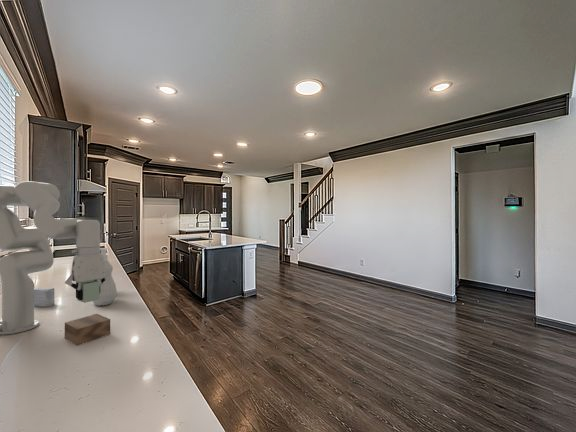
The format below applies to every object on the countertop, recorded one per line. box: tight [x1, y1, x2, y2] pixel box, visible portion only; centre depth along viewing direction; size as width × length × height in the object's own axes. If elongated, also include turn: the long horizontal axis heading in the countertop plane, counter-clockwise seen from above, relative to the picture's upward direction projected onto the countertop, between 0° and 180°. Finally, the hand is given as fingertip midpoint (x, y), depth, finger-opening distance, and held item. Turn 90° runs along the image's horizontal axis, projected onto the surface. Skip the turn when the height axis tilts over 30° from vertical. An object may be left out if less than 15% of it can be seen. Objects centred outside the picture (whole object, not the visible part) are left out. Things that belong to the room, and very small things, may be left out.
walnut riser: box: [64, 313, 111, 347], centre depth 105 cm, size 11×11×6 cm
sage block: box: [77, 280, 99, 304], centre depth 104 cm, size 5×6×7 cm
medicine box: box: [34, 287, 55, 308], centre depth 139 cm, size 8×4×9 cm, turn 84°
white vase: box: [92, 247, 117, 307], centre depth 143 cm, size 17×12×29 cm
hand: (88, 297), depth 104 cm, fingers closed on sage block, 5 cm apart
